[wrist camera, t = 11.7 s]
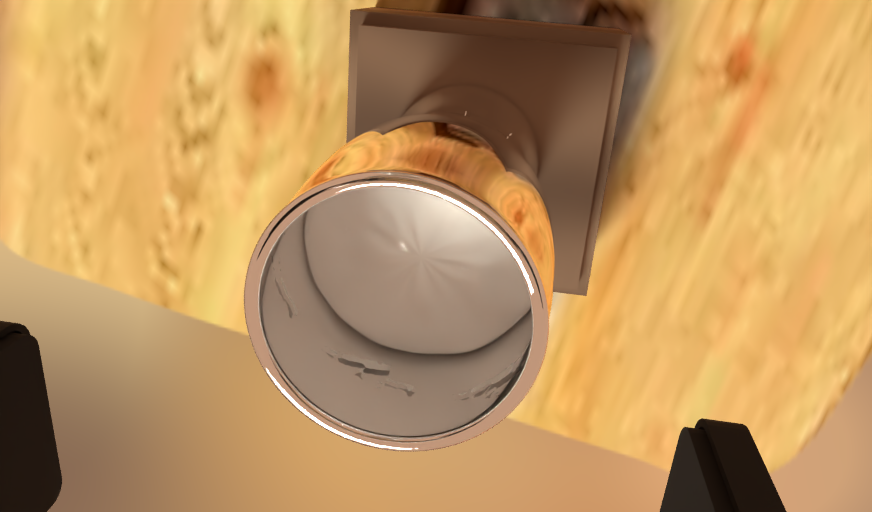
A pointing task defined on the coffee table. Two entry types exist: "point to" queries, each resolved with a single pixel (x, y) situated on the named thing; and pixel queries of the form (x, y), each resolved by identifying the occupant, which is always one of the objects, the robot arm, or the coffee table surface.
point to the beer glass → (411, 277)
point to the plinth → (518, 82)
